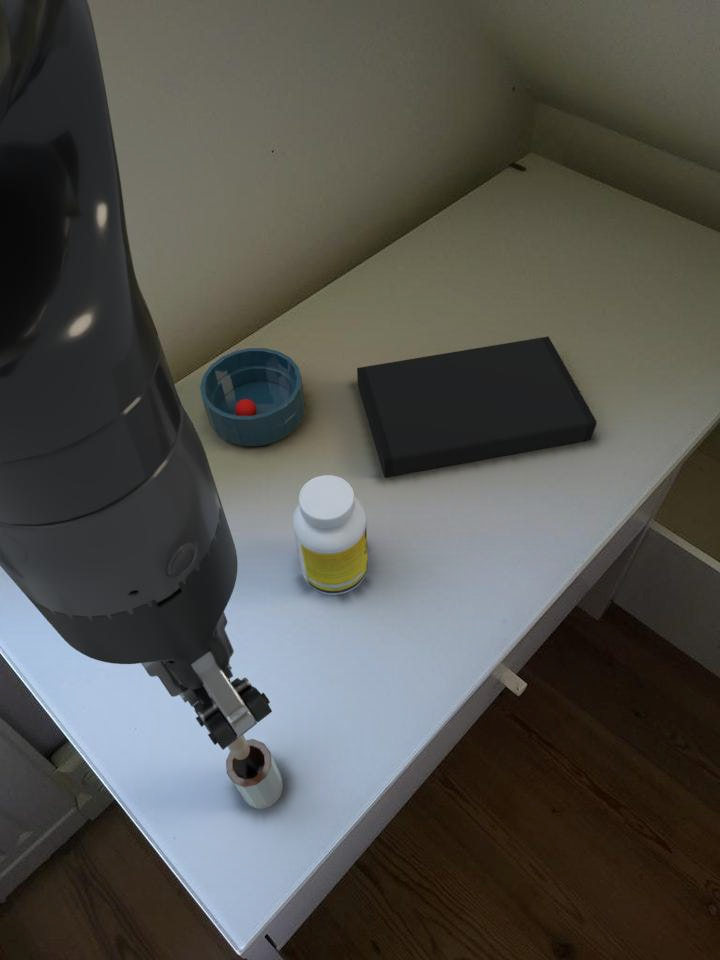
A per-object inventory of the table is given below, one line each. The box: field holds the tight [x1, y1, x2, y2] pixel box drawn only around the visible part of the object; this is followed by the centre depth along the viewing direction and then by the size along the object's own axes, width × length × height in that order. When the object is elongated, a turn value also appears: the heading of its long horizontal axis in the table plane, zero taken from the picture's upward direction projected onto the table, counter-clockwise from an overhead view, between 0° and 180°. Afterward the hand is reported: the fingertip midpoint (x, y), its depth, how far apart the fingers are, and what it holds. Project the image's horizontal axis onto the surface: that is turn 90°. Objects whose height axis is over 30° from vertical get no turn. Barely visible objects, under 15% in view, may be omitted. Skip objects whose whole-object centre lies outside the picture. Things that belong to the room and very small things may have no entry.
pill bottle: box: [292, 474, 369, 596], centre depth 62 cm, size 6×6×12 cm
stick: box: [227, 734, 250, 760], centre depth 40 cm, size 1×1×16 cm
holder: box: [225, 738, 284, 810], centre depth 52 cm, size 3×3×7 cm
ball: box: [235, 399, 257, 416], centre depth 77 cm, size 2×2×2 cm
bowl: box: [199, 347, 306, 447], centre depth 77 cm, size 11×11×5 cm
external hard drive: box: [356, 336, 597, 478], centre depth 77 cm, size 14×23×3 cm, turn 102°
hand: (209, 692), depth 38 cm, fingers closed on stick, 1 cm apart
